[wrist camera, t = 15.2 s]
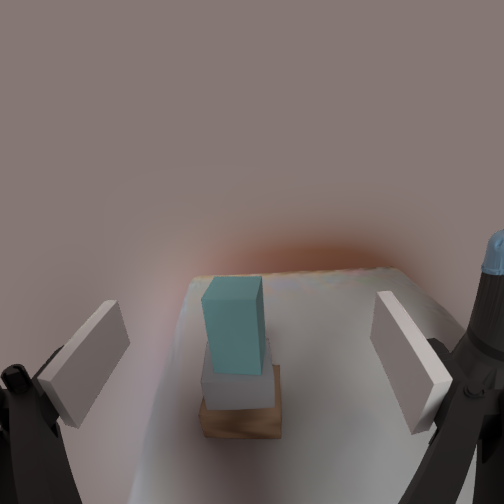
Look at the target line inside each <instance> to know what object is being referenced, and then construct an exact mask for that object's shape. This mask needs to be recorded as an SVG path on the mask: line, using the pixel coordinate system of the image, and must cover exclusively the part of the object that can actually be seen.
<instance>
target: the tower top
mask: <svg viewBox="0 0 504 504" xmlns="http://www.w3.org/2000/svg"><path fill="white" fill-rule="evenodd" d="M201 385H202V390H203V395H204V399H205V403H206V408H207V410H242V409H260V408H273V407H275V389H274V373H273V366H272V359H271V352H270V346H269V339H268V338H267V339H266V350H265V356H264V362H263V368H262V374H261V375H245V374H227V373H214V369H213V364H212V358H211V353H210V348H209V342H207V345H206V352H205V358H204V365H203V372H202V378H201Z"/></svg>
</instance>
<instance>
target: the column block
mask: <svg viewBox="0 0 504 504" xmlns="http://www.w3.org/2000/svg"><path fill="white" fill-rule="evenodd" d="M201 301H202V307H203V313H204V319H205V325H206V331H207V336H208V342H209V348H210V353H211V358H212V364H213V369H214V373H227V374H245V375H261V374H262V368H263V362H264V356H265V350H266V338H265V321H264V304H263V288H262V276H255V277H214V278H213V280H212V282H211V283H210V285H209V287H208V288H207V290H206V292H205V294H204V295H203V297H202V299H201Z"/></svg>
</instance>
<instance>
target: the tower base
mask: <svg viewBox="0 0 504 504" xmlns="http://www.w3.org/2000/svg"><path fill="white" fill-rule="evenodd" d="M272 366H273V373H274V389H275V407H273V408H260V409H242V410H207V408H206V403H205V399H204V396H203V400H202V404H201V408H200V412H199V418H200V421H201V425H202V428H203V432H204V435H205V437H215V438H237V439H278V438H281V392H280V365H272Z"/></svg>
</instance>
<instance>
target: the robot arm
mask: <svg viewBox="0 0 504 504" xmlns="http://www.w3.org/2000/svg"><path fill="white" fill-rule="evenodd" d="M481 270H482V273H481V278H480V283H479V287H478V291H477V296H476V300H475V304H474V307H473V311H472V314H471V318H470V322H469V325H468V328H467V331H466V333H465V334H464V336H463V337H462V338H461V340H460V341H459V342H458V344H457V345H456V347H455V348H454V350H453V351H452V352H451V353H449V351H448V350H447V348H446V347H445V346H444V344H443V343H441V342H440V341H438V340H437V339H435V338H431V339H426V338H425V337H424V336H423V334H422V333H421V331H420V330H419V328H418V327H417V326H416V324H415V323H414V322H413V320H412V319H411V317H410V316H409V315H408V313H407V312H406V311H405V309H404V308H403V306H402V305H401V304H400V302H399V301H398V300H397V298H396V297H395V296H394V295H393V293H392V292H391V291H381V292H376V300H375V308H374V316H373V323H372V329H371V336H370V339H371V341H372V343H373V345H374V348H375V350H376V352H377V354H378V356H379V358H380V361H381V363H382V365H383V367H384V370H385V372H386V374H387V376H388V379H389V381H390V383H391V386H392V388H393V390H394V393H395V395H396V397H397V400H398V402H399V405H400V407H401V409H402V412H403V414H404V417H405V419H406V422H407V424H408V427H409V429H410V432H411V435H412V434H416V433H420V432H424V431H428V430H429V429H430V427H431V425H432V423H433V421H434V422H435V424H436V426H437V429H436V431H435V433H434V434H433V436H432V438H431V440H430V441H429V443H428V444H429V446H428V449H427V451H426V453H425V455H424V457H423V459H422V461H421V463H420V465H419V467H418V469H417V471H416V473H415V475H414V477H413V479H412V480H411V482H410V484H409V486H408V488H407V489H406V491H405V493H404V495H403V496H402V498H401V500H400V501H399V503H398V504H455V503H456V501H457V498H458V496H459V494H460V491H461V489H462V486H463V484H464V481H465V478H466V475H467V473H468V470H469V467H470V464H471V461H472V458H473V455H474V451H475V448H476V444H477V461H476V476H475V486H474V495H473V503H472V504H504V229H503V230H500V231H497V232H496V233H494V234H493V235H492V236H491V238H490V239H489V241H488V245H487V250H486V254H485V258H484V262H483V264H482V266H481ZM129 345H130V341H129V338H128V335H127V331H126V328H125V325H124V321H123V318H122V315H121V311H120V308H119V304H118V301H112V300H109V301H108V300H106V301H105V302H104V303H103V304H102V305H101V306H100V307H99V308H98V309H97V310H96V311H95V312H94V314H93V315H92V316H91V317H90V318H89V319H88V320H87V321H86V322H85V323H84V324H83V325H82V327H81V328H80V329H79V330H78V331H77V332H76V333H75V334H74V336H73V337H72V338H71V339H70V340H69V341H68V342H67V343H66V344H65V345H63V346H62V347H60V348H59V349H58V350H56V351H55V352H54V353H53V354H52V356H51V357H50V358H49V359H48V360H47V361H46V364H44V365H43V366H42V367H41V368H40V369H39V371H38V372H37V373H36V374H35V375H34V377H33V378H32V379H30V377H29V375H28V373H27V371H26V369H25V368H24V366H23V365H21V364H14V365H11V366H9V367H7V368H6V369H5V370H4V371H3V372H2V374H1V379H2V380H3V382H4V384H5V386H6V387H7V389H2V387H1V386H0V426H1V427H0V504H82V501H81V498H80V496H79V493H78V490H77V487H76V484H75V481H74V478H73V475H72V472H71V469H70V465H69V462H68V458H67V455H66V451H65V447H64V443H63V439H62V435H61V431H60V426H59V425H58V423H57V421H56V420H57V419H58V417H59V416H60V417H61V419H62V420H63V422H64V423H65V425H68V426H71V427H75V428H79V427H80V425H81V424H82V422H83V420H84V418H85V417H86V415H87V413H88V411H89V410H90V408H91V406H92V405H93V403H94V401H95V399H96V398H97V396H98V395H99V393H100V391H101V390H102V388H103V386H104V384H105V383H106V381H107V380H108V378H109V376H110V375H111V373H112V371H113V370H114V368H115V367H116V365H117V364H118V362H119V360H120V359H121V357H122V356H123V354H124V352H125V351H126V349H127V348H128V346H129Z"/></svg>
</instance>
